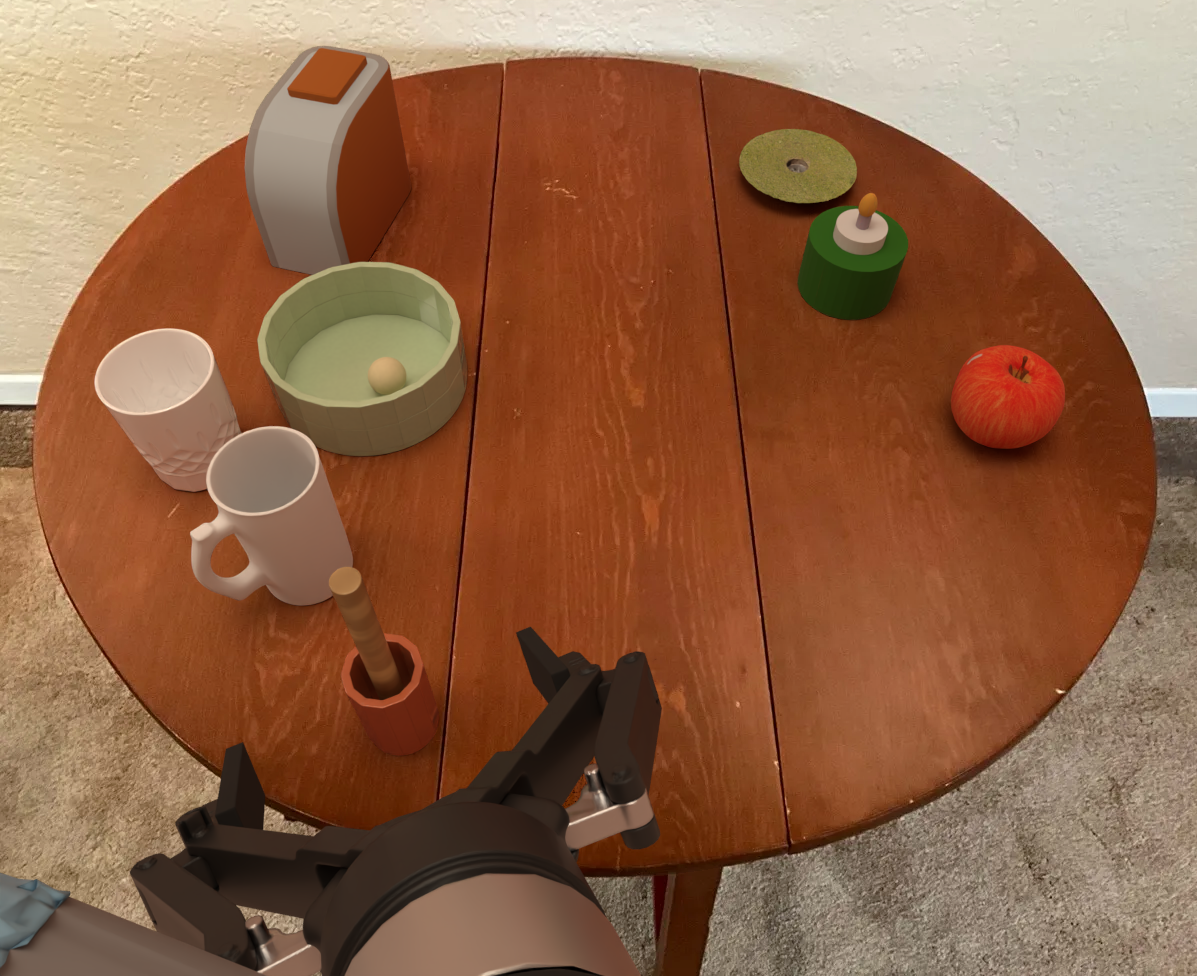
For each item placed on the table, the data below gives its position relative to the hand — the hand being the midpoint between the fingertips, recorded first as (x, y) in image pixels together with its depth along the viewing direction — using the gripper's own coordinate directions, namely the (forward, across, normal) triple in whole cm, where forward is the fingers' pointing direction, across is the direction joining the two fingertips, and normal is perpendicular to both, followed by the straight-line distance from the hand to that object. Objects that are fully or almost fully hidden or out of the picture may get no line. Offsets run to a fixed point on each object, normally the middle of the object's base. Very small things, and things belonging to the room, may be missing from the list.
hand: (394, 711), depth 44 cm
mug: (+27, -4, +2) cm, 27 cm away
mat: (+44, +52, +18) cm, 70 cm away
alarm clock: (+52, +10, +27) cm, 59 cm away
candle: (+34, +48, +8) cm, 59 cm away
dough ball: (+35, +8, +13) cm, 38 cm away
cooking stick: (+17, 0, -7) cm, 19 cm away
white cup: (+36, -8, +11) cm, 39 cm away
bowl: (+38, +7, +13) cm, 40 cm away
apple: (+21, +50, -5) cm, 54 cm away
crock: (+18, 0, -8) cm, 19 cm away
